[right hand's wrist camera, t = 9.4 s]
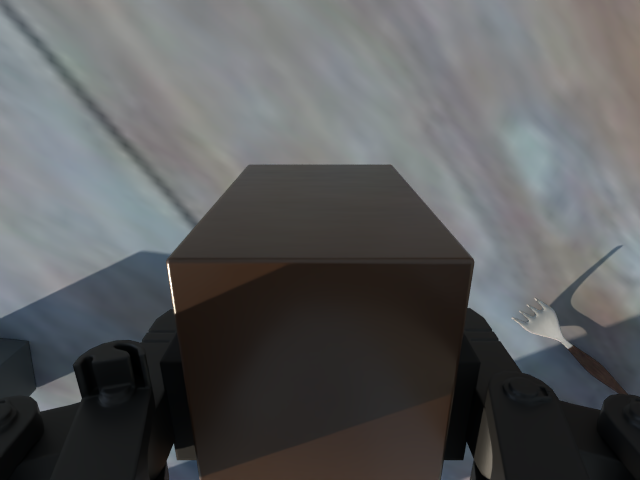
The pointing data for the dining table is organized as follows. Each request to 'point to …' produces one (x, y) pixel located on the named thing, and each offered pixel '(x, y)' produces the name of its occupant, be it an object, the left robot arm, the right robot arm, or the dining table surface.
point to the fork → (565, 342)
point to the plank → (320, 326)
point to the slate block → (16, 369)
